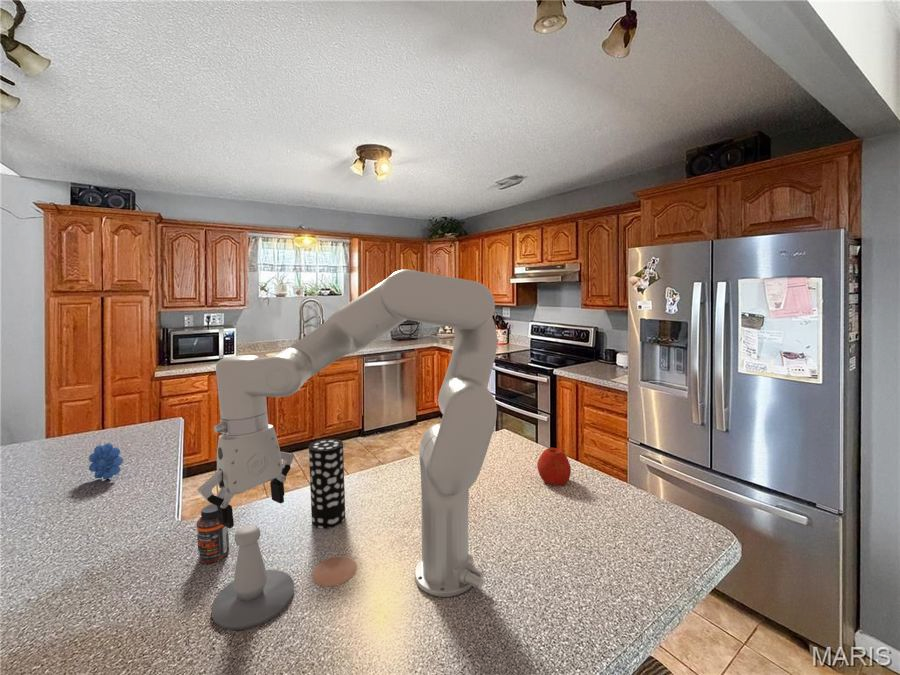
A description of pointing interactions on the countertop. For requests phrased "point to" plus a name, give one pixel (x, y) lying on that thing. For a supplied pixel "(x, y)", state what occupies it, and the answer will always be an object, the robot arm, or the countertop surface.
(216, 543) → the supplement bottle
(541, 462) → the apple
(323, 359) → the robot arm
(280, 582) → the slate plate
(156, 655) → the countertop surface
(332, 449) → the spotted tube
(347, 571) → the terracotta spot
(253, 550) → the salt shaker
